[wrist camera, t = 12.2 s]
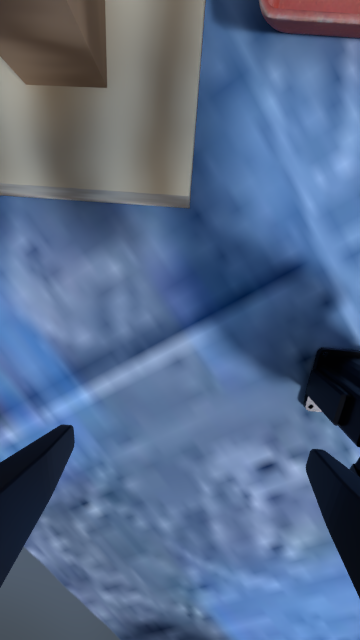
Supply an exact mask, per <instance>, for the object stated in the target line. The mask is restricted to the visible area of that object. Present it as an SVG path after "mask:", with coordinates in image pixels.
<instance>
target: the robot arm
mask: <svg viewBox="0 0 360 640" xmlns="http://www.w3.org/2000/svg"><path fill="white" fill-rule="evenodd" d="M324 352H326V353H325V354H324V355H323V353H324ZM310 404H311V405H310ZM303 405H304V407H305V408H306V409H307V410H308V411H316V412H323V413H324V414H325V415H326V416H327V417H328V419H329V420H330V421H331V422H332V423H333V424H334V425H336V426H339V427H340V428H341V429H342V430H343V432H344V433H345V434H346V435H347V436H348V437H349V438H350V439H351V440H352V441H353V442H354V443H355V445H356V446H357V447H360V351H358V350H346V349H335V348H320V349H319V350H318V351H317V355H316V358H315V362H314V366H313V370H312V371H311V374H310V378H309V382H308V386H307V389H306V396H305V399H304V403H303ZM309 405H310V406H309ZM73 448H74V429H73V426H71V425H60V426H58V427H57V428H55V429H53V430H52V431H50V432H49V433H47V434H45V435H44V436H42V437H41V438H39V439H37V440H36V441H34V442H32V443H31V444H29V445H28V446H26V447H24V448H23V449H21V450H20V451H18V452H16V453H15V454H13V455H12V456H10V457H8V458H7V459H5V460H4V461H2V462H0V587H1V586H2V584H3V582H4V580H5V578H6V576H7V575H8V573H9V571H10V569H11V568H12V566H13V564H14V562H15V561H16V559H17V557H18V555H19V553H20V552H21V550H22V548H23V546H24V545H25V543H26V541H27V539H28V537H29V536H30V534H31V532H32V530H33V529H34V527H35V525H36V523H37V521H38V520H39V518H40V516H41V514H42V512H43V511H44V509H45V507H46V505H47V504H48V502H49V500H50V498H51V496H52V494H53V492H54V490H55V488H56V486H57V483H58V481H59V479H60V477H61V475H62V472H63V470H64V468H65V466H66V464H67V461H68V459H69V457H70V455H71V453H72V451H73ZM306 472H307V475H308V478H309V481H310V483H311V486H312V489H313V491H314V494H315V497H316V499H317V502H318V505H319V508H320V510H321V513H322V516H323V518H324V521H325V523H326V526H327V528H328V530H329V533H330V535H331V537H332V539H333V541H334V544H335V546H336V548H337V550H338V552H339V554H340V557H341V559H342V561H343V563H344V565H345V568H346V570H347V572H348V574H349V576H350V578H351V581H352V583H353V585H354V587H355V589H356V591H357V594H358V596H359V598H360V457H359V459H358V460H357V462H356V463H355V464H353V465H352V466H351V468H350V469H348V468H347V467H345V466H344V465H343V464H342V463H340V462H339V461H338V460H336V459H335V458H334V457H332V456H331V455H330V454H328V453H327V452H326V451H324V450H319V449H312V450H311V451H310V454H309V457H308V460H307V464H306Z"/></svg>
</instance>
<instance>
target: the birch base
mask: <svg viewBox="0 0 360 640" xmlns="http://www.w3.org/2000/svg"><path fill="white" fill-rule="evenodd" d="M205 2H206V0H105V16H106V58H107V88H94V87H69V86H43V85H26V84H25V83H24V82H23V81H22V80H21V79H20V78H19V76H18V75H17V74H16V73H15V72H14V71H13V70H12V69H11V68H10V67H9V65H8V64H7V63H6V62H5V61H4V60H3V59H2V58H1V57H0V195H5V196H19V197H34V198H48V199H63V200H77V201H92V202H106V203H121V204H135V205H150V206H164V207H179V208H190V195H191V182H192V169H193V156H194V143H195V130H196V118H197V105H198V92H199V79H200V66H201V53H202V40H203V27H204V14H205Z"/></svg>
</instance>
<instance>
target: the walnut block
mask: <svg viewBox="0 0 360 640" xmlns="http://www.w3.org/2000/svg"><path fill="white" fill-rule="evenodd" d="M0 57H1V58H2V59H3V60H4V61H5V62H6V63H7V64H8V65H9V67H10V68H11V69H12V70H13V71H14V72H15V73H16V74H17V75H18V76H19V78H20V79H21V80H22V81H23V82H24V83H25V84H26V85H43V86H69V87H94V88H107V58H106V16H105V0H0Z"/></svg>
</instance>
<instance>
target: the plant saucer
mask: <svg viewBox="0 0 360 640" xmlns="http://www.w3.org/2000/svg"><path fill="white" fill-rule="evenodd" d="M259 4H260V8H261V12H262V15H263V17H264V19H265V20H266V22H267V23H268V24H270V25H271V26H272V27H273V28H274V29H276V30H278V31H280V32H285V33H291V34H311V35H326V36H340V37H353V38H360V0H259Z"/></svg>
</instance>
